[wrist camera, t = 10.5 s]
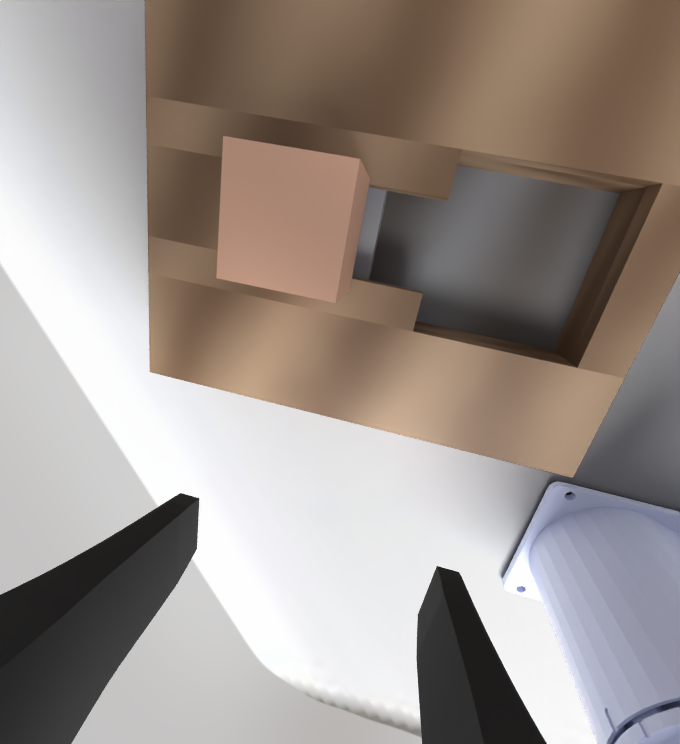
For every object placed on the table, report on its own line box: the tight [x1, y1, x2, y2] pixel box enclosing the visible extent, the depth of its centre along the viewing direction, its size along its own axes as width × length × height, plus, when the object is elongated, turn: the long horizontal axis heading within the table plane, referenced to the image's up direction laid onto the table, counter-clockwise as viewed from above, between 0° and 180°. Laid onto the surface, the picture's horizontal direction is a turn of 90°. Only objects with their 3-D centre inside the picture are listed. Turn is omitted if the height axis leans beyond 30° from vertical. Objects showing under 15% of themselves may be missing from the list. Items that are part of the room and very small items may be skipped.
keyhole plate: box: [145, 0, 680, 478], centre depth 15 cm, size 20×16×3 cm
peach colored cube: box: [216, 136, 388, 303], centre depth 13 cm, size 5×5×6 cm
